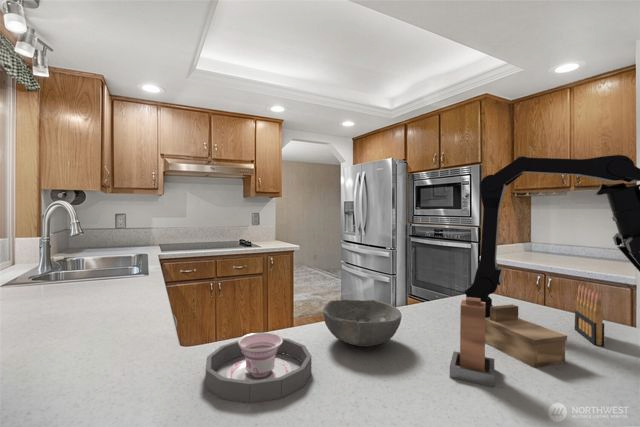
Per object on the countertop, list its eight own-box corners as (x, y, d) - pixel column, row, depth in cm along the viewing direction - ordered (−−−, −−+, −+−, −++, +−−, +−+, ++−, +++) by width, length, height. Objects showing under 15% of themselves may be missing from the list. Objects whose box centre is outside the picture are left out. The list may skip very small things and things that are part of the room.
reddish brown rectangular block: (461, 366, 64) (462, 295, 64) (484, 371, 62) (485, 298, 62) (459, 375, 61) (460, 300, 60) (484, 380, 59) (485, 303, 59)
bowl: (403, 363, 65) (403, 323, 65) (315, 355, 69) (315, 317, 69) (399, 331, 83) (399, 299, 83) (330, 325, 86) (330, 295, 86)
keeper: (453, 361, 66) (453, 351, 66) (494, 369, 63) (494, 358, 63) (449, 377, 60) (449, 366, 60) (494, 387, 57) (494, 375, 57)
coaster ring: (208, 357, 67) (208, 342, 67) (297, 346, 73) (297, 333, 73) (203, 410, 50) (203, 390, 50) (322, 391, 55) (322, 373, 55)
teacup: (304, 368, 63) (304, 336, 63) (263, 399, 53) (263, 361, 53) (256, 354, 69) (256, 325, 69) (211, 379, 59) (211, 345, 59)
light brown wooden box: (482, 341, 76) (483, 323, 76) (510, 338, 78) (510, 320, 78) (533, 367, 64) (534, 345, 64) (564, 362, 66) (565, 340, 66)
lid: (481, 322, 76) (481, 305, 76) (510, 319, 79) (510, 302, 79) (534, 345, 63) (534, 324, 63) (566, 340, 66) (567, 320, 66)
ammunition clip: (604, 346, 74) (605, 293, 74) (594, 345, 74) (595, 292, 74) (583, 330, 84) (583, 283, 84) (574, 329, 84) (574, 282, 84)
